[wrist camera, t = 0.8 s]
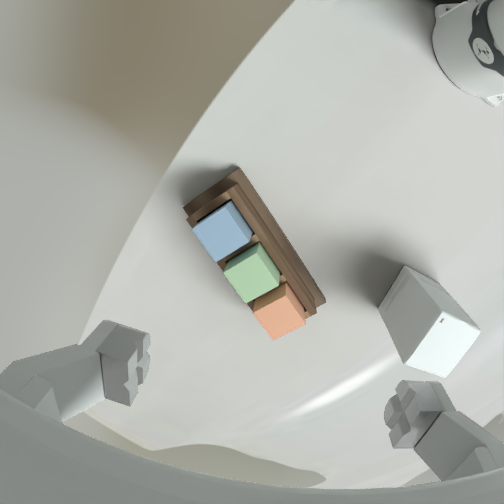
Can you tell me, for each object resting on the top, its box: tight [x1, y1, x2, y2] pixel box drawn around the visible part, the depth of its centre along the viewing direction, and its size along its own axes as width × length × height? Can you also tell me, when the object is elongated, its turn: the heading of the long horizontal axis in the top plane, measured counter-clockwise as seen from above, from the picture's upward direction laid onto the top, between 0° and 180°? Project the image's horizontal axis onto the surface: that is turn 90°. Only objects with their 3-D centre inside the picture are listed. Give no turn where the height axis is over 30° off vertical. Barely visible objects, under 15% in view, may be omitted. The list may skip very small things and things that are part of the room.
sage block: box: [223, 241, 280, 304], centre depth 41 cm, size 5×5×5 cm
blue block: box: [192, 200, 253, 263], centre depth 40 cm, size 5×5×5 cm
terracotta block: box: [253, 281, 305, 340], centre depth 43 cm, size 5×5×5 cm
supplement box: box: [378, 265, 481, 378], centre depth 41 cm, size 9×9×15 cm
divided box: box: [183, 168, 326, 319], centre depth 45 cm, size 10×24×6 cm, turn 34°
